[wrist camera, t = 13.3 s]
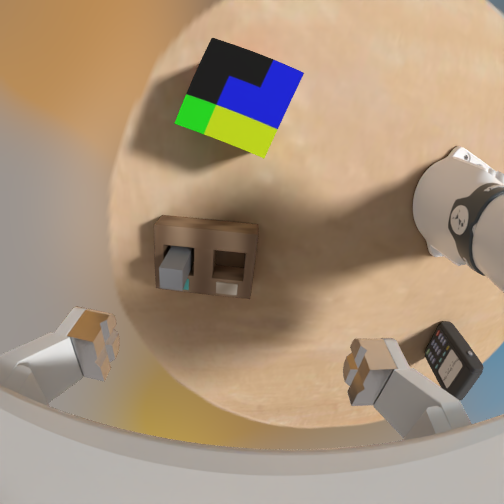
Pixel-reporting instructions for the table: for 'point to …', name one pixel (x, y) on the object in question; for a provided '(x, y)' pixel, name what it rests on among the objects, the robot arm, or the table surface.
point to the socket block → (209, 253)
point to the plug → (176, 267)
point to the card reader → (453, 361)
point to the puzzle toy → (238, 97)
